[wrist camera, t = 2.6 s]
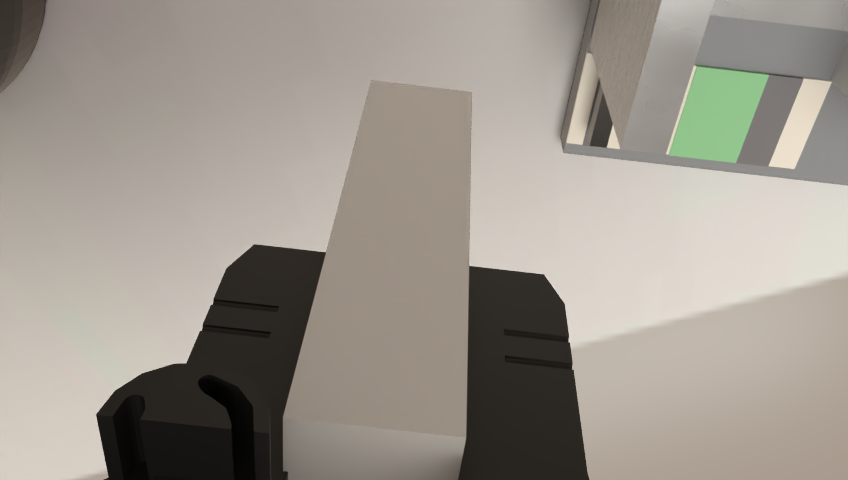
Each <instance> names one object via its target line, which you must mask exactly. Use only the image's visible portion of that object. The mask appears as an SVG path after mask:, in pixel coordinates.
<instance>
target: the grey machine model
mask: <svg viewBox="0 0 848 480" xmlns="http://www.w3.org/2000/svg"><path fill="white" fill-rule="evenodd" d="M710 15H714V16H723V17H731V18H740V19H748V20H757V21H765V22H774V23H782V24H791V25H799V26H808V27H816V28H825V29H833V30H842V31H848V0H600V4H599V8H598V13H597V17H596V21H595V25H594V30H593V34H592V38H591V43H590V49H591V53H592V56H593V59H594V63H595V66H596V69H597V73H598V76H599V79H600V87H599V91H598V95H597V99H596V103H595V107H594V111H593V115H592V119H591V123H590V127H589V131H588V135H587V138H588V142H589V146H594V147H603V148H607V145H608V141H609V137H610V133H611V130H612V126H614V130H615V133H616V136H617V140H618V143H619V146H620V149H622V150H631V151H639V152H648V153H657V154H666V152H667V149H668V146H669V143H670V140H671V137H672V133H673V130H674V127H675V124H676V121H677V118H678V115H679V111H680V108H681V105H682V102H683V99H684V96H685V92H686V89H687V86H688V83H689V80H690V77H691V73H692V70H693V67H694V64H695V61H696V58H697V54H698V51H699V48H700V45H701V42H702V39H703V35H704V32H705V29H706V26H707V23H708V20H709V17H710Z"/></svg>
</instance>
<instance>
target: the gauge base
mask: <svg viewBox="0 0 848 480" xmlns="http://www.w3.org/2000/svg"><path fill="white" fill-rule="evenodd" d="M599 4H600V0H591V5H590V9H589V14H588V18H587V22H586V27H585V31H584V36H583V40H582V45H581V49H580V53H579V58H578V62H577V67H576V71H575V76H574V80H573V85H572V89H571V93H570V98H569V102H568V107H567V111H566V116H565V120H564V124H563V129H562V133H561V143H562V148H563V153H569V154H578V155H587V156H595V157H604V158H613V159H621V160H630V161H639V162H648V163H656V164H665V165H674V166H683V167H691V168H700V169H709V170H718V171H726V172H735V173H744V174H753V175H761V176H770V177H779V178H788V179H796V180H805V181H814V182H822V183H831V184H840V185H848V31H842V30H833V29H825V28H816V27H808V26H799V25H791V24H782V23H774V22H765V21H757V20H748V19H740V18H731V17H723V16H714V15H710V17H709V20H708V23H707V26H706V29H705V32H704V35H703V39H702V42H701V45H700V48H699V51H698V54H697V58H696V61H695V64H694V67H693V70H692V73H691V77H690V80H689V83H688V86H687V89H686V92H685V96H684V99H683V102H682V105H681V108H680V111H679V115H678V118H677V121H676V124H675V127H674V130H673V133H672V137H671V140H670V143H669V146H668V149H667V152H666V154H657V153H648V152H639V151H631V150H622V149H620V146H619V143H618V140H617V136H616V133H615V130H614V126H612V130H611V133H610V137H609V141H608V145H607V148H603V147H594V146H589V142H588V138H587V135H588V131H589V127H590V123H591V119H592V115H593V111H594V107H595V103H596V99H597V95H598V91H599V87H600V79H599V76H598V73H597V69H596V66H595V63H594V59H593V56H592V53H591V49H590V43H591V38H592V34H593V30H594V25H595V21H596V17H597V13H598V8H599Z"/></svg>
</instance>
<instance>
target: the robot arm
mask: <svg viewBox="0 0 848 480" xmlns="http://www.w3.org/2000/svg"><path fill="white" fill-rule="evenodd" d="M44 8H45V0H0V93H1V92H2V91H3V90H4V89H5V88H6V87H7V86H8V85H9V84H10V83H11V82H12V81H13V80H14V79H15V78H16V77H17V75H18V74H19V73H20V72H21V70H22V69H23V67H24V66H25V64H26V62H27V61H28V59H29V57H30V55H31V53H32V51H33V49H34V46H35V44H36V41H37V39H38V36H39V32H40V29H41V25H42V20H43V15H44ZM471 117H472V92H466V91H457V90H449V89H440V88H432V87H423V86H415V85H406V84H397V83H389V82H380V81H372V80H371V83H370V87H369V91H368V94H367V98H366V102H365V106H364V110H363V114H362V117H361V121H360V125H359V129H358V133H357V136H356V140H355V144H354V148H353V152H352V156H351V159H350V163H349V167H348V171H347V175H346V178H345V182H344V186H343V190H342V194H341V198H340V201H339V205H338V209H337V213H336V217H335V220H334V224H333V228H332V232H331V236H330V240H329V243H328V247H327V251H326V252H317V251H308V250H299V249H291V248H282V247H273V246H264V245H255V244H254V245H253V246H252V247H251V248H250V249H249V250H247V251H246V252H245V253H244V254H243V255H242V256H240V257H239V258H238V259H237V260H236V261H235V262H233V263H232V264H231V265H230V266H229V267H228V268H226V271H225V273H224V276H223V278H222V280H221V283H220V285H219V287H218V290H217V292H216V294H215V297H214V302H213V305H211V306H210V309H209V311H208V313H207V316H206V318H205V321H204V323H203V329H202V331H200V332H199V335H198V337H197V340H196V342H195V344H194V347H193V349H192V351H191V354H190V356H189V359H188V361H187V363H186V364H172V365H169V366H166V367H162V368H159V369H156V370H152V371H149V372H146V373H142V374H141V375H139V376H138V377H136V378H134V379H133V380H131V381H130V382H128V383H127V384H125V385H123V386H122V387H120V388H119V389H117V390H116V391H115V392H114V393H113V394H112V395H111V397H110V398H109V399H108V400H107V402H106V403H105V404H104V405H103V407H102V408H101V409H100V410H99V412H98V413H97V414H96V416H97V421H98V426H99V431H100V436H101V441H102V446H103V451H104V456H105V461H106V466H107V471H108V476H109V478H107V479H104V480H589V477H588V473H587V466H586V459H585V452H584V444H583V438H582V429H581V422H580V415H579V407H578V401H577V392H576V385H575V378H574V370H572V355H571V348H570V343H569V342H568V338H569V333H568V326H567V318H566V311H565V304H564V302H563V301H562V300H561V298H560V297H559V295H558V294H557V293H556V291H555V290H554V288H553V287H552V285H551V284H550V283H549V281H548V280H547V278H546V277H545V275H543V274H534V273H525V272H517V271H508V270H499V269H490V268H482V267H473V266H469V239H470V178H471Z"/></svg>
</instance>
